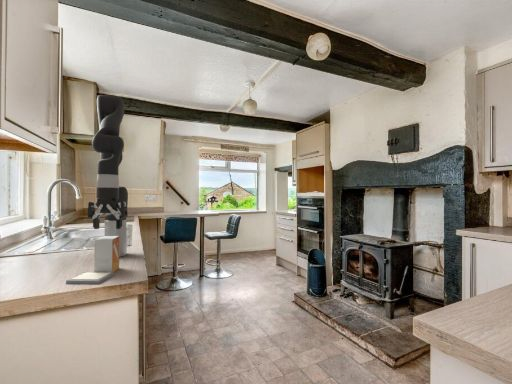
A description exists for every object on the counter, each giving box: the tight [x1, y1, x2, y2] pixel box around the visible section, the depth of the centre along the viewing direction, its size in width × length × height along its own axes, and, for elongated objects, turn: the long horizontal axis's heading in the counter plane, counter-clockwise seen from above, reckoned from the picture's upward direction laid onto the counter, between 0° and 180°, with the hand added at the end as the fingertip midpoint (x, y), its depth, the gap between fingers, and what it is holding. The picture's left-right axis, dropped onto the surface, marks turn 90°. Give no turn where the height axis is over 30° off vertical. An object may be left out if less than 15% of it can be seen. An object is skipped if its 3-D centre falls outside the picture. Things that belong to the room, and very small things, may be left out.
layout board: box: [65, 271, 115, 285], centre depth 90 cm, size 9×11×1 cm
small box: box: [93, 235, 120, 273], centre depth 99 cm, size 8×6×13 cm
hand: (107, 228), depth 99 cm, fingers open, 8 cm apart
